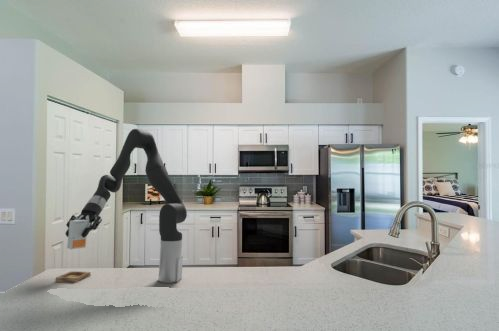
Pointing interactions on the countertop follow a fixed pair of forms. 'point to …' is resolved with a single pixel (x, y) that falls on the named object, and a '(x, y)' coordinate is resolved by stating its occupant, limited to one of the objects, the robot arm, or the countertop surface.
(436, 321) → the countertop surface
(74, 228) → the skincare box
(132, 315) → the countertop surface
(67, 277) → the tray
